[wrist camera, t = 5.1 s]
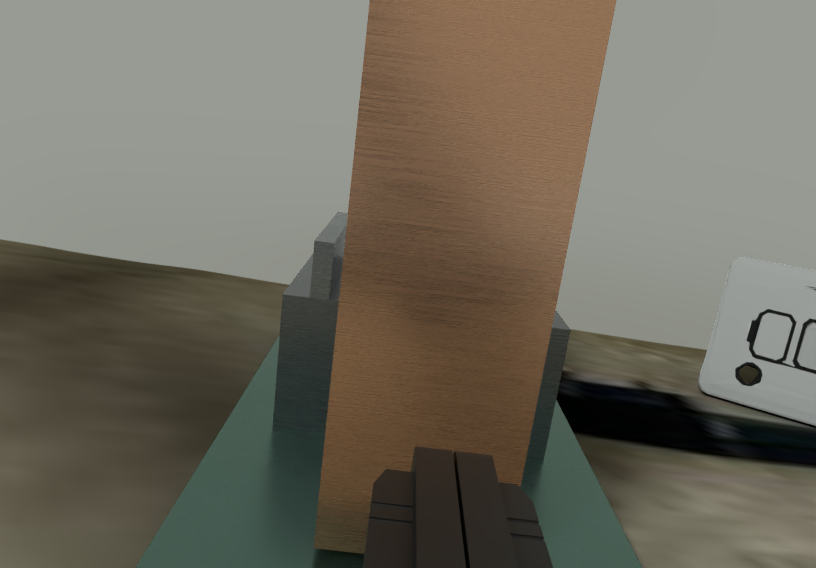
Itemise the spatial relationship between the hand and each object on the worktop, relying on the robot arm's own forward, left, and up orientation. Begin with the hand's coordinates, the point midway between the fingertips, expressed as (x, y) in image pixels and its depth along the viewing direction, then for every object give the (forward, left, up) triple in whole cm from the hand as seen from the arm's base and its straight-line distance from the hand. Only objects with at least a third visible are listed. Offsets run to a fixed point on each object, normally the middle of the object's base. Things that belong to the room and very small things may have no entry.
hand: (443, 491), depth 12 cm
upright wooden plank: (0, +12, -6) cm, 13 cm away
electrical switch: (+24, +27, -8) cm, 37 cm away
